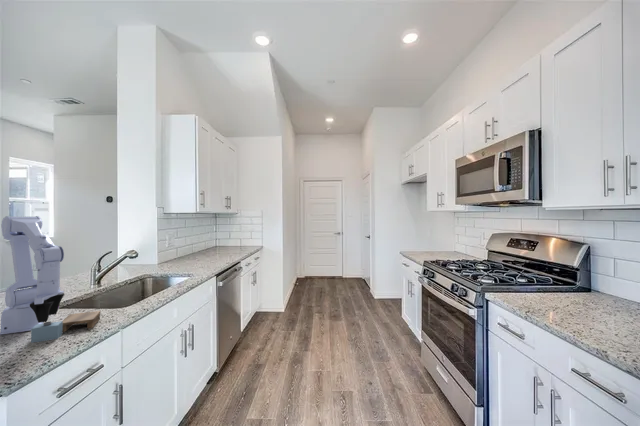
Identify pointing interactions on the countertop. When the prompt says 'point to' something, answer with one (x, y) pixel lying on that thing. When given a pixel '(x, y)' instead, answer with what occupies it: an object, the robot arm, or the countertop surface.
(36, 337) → the housing
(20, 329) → the robot arm
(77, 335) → the countertop surface
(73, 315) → the stand
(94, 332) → the countertop surface
